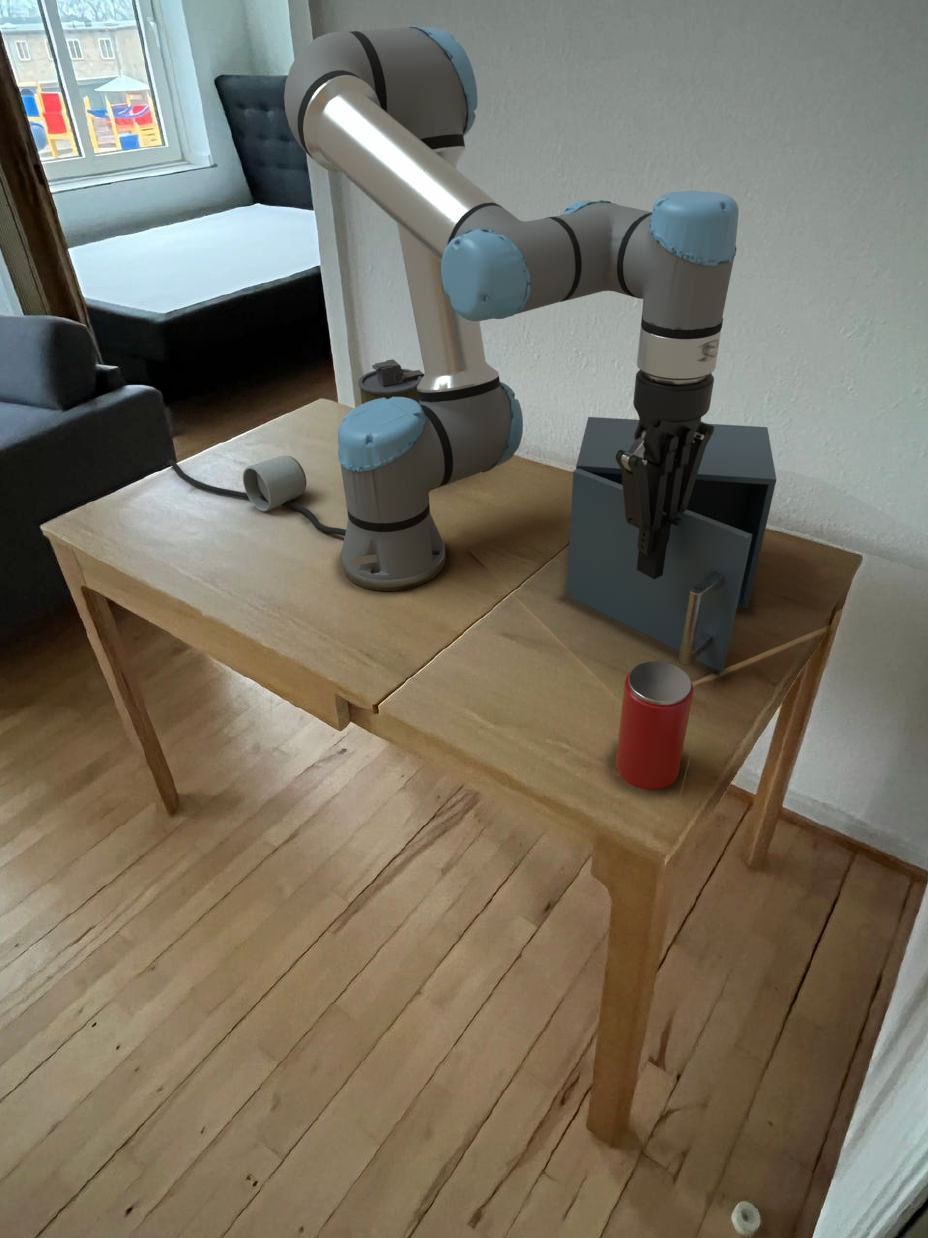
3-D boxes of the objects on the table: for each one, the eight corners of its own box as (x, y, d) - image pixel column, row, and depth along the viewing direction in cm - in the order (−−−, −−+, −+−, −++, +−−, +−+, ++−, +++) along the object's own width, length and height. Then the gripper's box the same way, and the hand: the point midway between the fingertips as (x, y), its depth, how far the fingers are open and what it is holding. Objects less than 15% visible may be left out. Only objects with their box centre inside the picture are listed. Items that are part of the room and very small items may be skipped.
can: (610, 745, 89) (619, 660, 82) (670, 742, 89) (684, 657, 82) (622, 792, 84) (633, 705, 77) (685, 788, 84) (702, 702, 77)
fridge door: (695, 697, 95) (722, 557, 83) (541, 615, 108) (545, 485, 97) (723, 671, 98) (752, 534, 87) (570, 595, 112) (578, 467, 100)
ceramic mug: (313, 498, 136) (305, 456, 132) (273, 517, 132) (264, 474, 127) (274, 481, 142) (266, 440, 138) (235, 499, 138) (226, 457, 133)
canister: (380, 495, 137) (368, 379, 125) (361, 470, 144) (347, 358, 132) (440, 481, 140) (433, 367, 128) (417, 457, 148) (409, 347, 136)
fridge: (747, 612, 108) (776, 479, 96) (569, 594, 112) (576, 465, 100) (741, 552, 119) (767, 426, 107) (580, 538, 124) (588, 416, 112)
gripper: (660, 399, 74) (635, 608, 88) (748, 365, 80) (711, 565, 94) (601, 377, 79) (586, 579, 93) (688, 346, 85) (661, 540, 99)
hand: (649, 572), depth 94 cm, fingers closed
